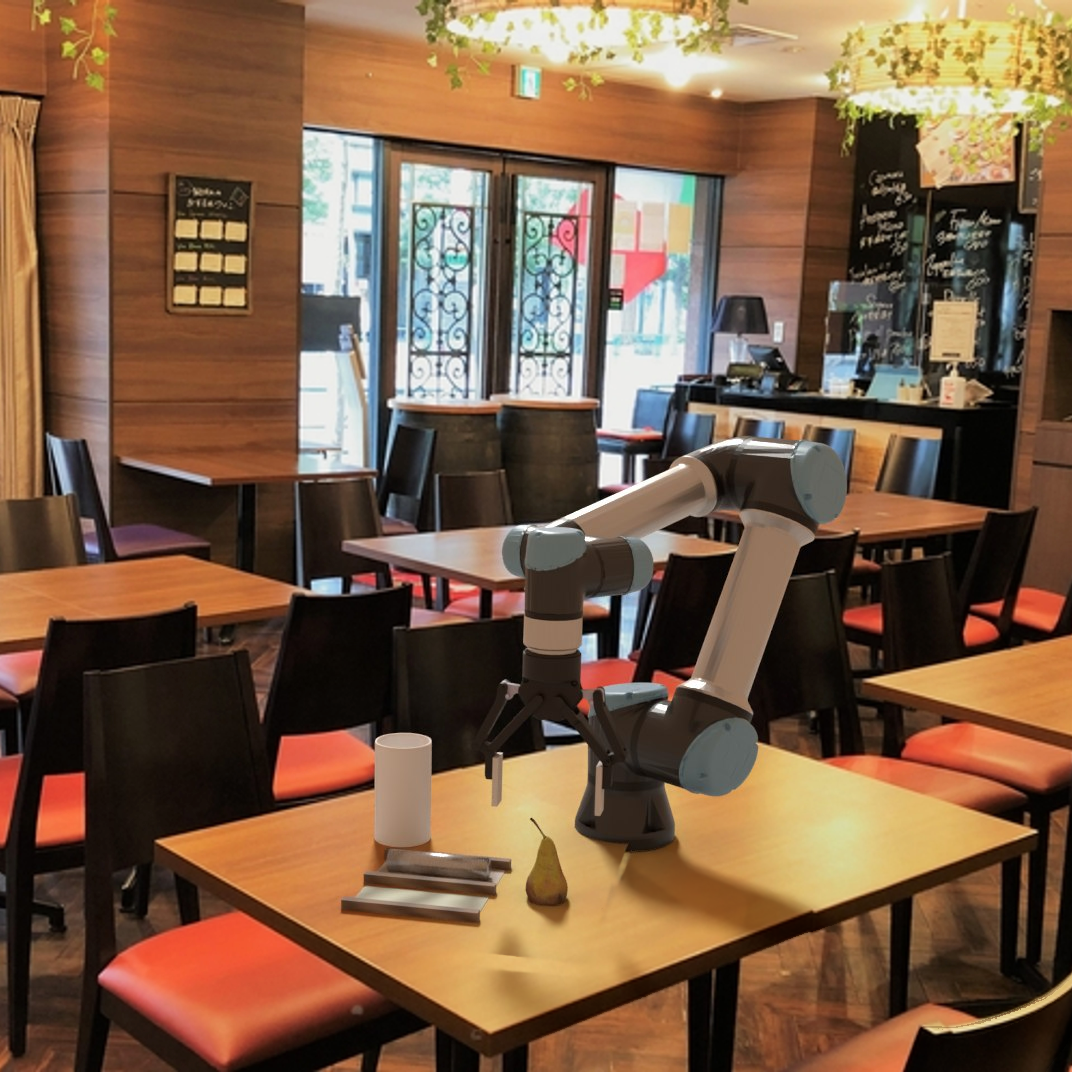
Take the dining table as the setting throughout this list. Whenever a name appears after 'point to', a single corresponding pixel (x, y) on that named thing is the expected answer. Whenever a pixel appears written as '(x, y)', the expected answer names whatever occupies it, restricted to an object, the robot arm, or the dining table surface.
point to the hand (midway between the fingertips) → (547, 808)
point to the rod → (438, 864)
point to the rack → (426, 893)
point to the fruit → (546, 876)
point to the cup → (402, 789)
